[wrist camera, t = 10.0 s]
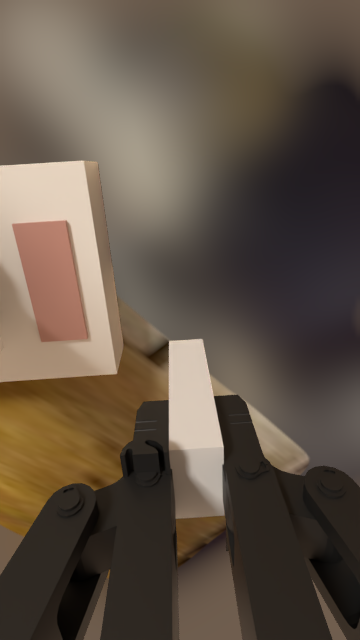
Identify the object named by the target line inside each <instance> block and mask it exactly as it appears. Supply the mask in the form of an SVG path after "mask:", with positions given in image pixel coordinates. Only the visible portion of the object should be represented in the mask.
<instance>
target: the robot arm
mask: <svg viewBox="0 0 360 640" xmlns="http://www.w3.org/2000/svg"><path fill="white" fill-rule="evenodd" d="M120 459H121V465H122V471H123V477H122V478H121V479H120V480H118V481H117V482H116V483H114V484H112V485H110V486H107V487H104V488H102V489H99V490H96V491H93V489H92V488H91V487H90V486H88V485H85V484H82V483H80V484H71V485H68V486H65V487H62V488H61V489H59V490H58V491H56V492H55V493H54V494H53V495H52V496H51V497H50V499H49V500H48V501H47V502H46V504H45V506H44V507H43V509H42V510H41V512H40V513H39V515H38V517H37V518H36V520H35V521H34V523H33V525H32V526H31V528H30V529H29V531H28V532H27V534H26V536H25V537H24V539H23V540H22V542H21V544H20V545H19V547H18V548H17V550H16V551H15V553H14V555H13V556H12V558H11V560H10V561H9V563H8V564H7V566H6V567H5V569H4V570H3V572H2V574H1V575H0V640H83V639H84V636H85V633H86V631H87V628H88V625H89V623H90V620H91V617H92V615H93V612H94V609H95V606H96V604H97V601H98V599H99V596H100V593H101V590H102V588H103V585H104V582H105V580H106V577H107V574H108V571H109V570H110V576H109V583H108V590H107V597H106V604H105V611H104V618H103V624H102V631H101V638H100V640H179V613H178V612H179V611H178V570H177V569H178V567H177V534H176V519H181V518H196V517H211V516H224V511H225V517H226V551H229V555H230V562H231V568H232V574H233V580H234V587H235V594H236V601H237V606H238V614H239V619H240V626H241V633H242V639H243V640H332V637H331V634H330V631H329V628H328V626H327V623H326V620H325V617H324V614H323V611H322V608H321V605H320V603H319V599H318V597H317V594H316V591H315V588H314V585H313V582H314V583H315V585H316V587H317V588H318V590H319V592H320V594H321V595H322V597H323V599H324V601H325V602H326V604H327V606H328V608H329V609H330V611H331V613H332V614H333V616H334V618H335V620H336V621H337V623H338V625H339V627H340V628H341V630H342V632H343V633H344V635H345V637H346V639H347V640H360V487H359V486H358V485H357V484H356V483H355V482H354V481H353V479H351V478H350V477H349V476H348V475H347V474H345V473H344V472H342V471H340V470H338V469H336V468H333V467H327V466H319V467H314V468H312V469H310V470H309V471H308V472H307V473H306V475H305V476H300V475H295V474H290V473H287V472H283V471H281V470H279V469H277V468H275V467H274V466H272V465H271V464H270V462H269V461H268V460H267V459H266V458H265V457H264V455H263V453H262V450H261V447H260V444H259V441H258V438H257V435H256V432H255V429H254V426H253V423H252V420H251V417H250V415H249V411H248V408H247V405H246V402H245V401H243V400H242V399H241V398H240V397H239V396H238V395H226V396H214V395H213V390H212V385H211V380H210V375H209V370H208V366H207V360H206V355H205V351H204V345H203V340H202V339H196V340H179V341H169V400H164V401H149V402H143V404H142V405H141V406H140V408H139V409H138V411H137V416H136V423H135V432H134V438H133V441H131V442H129V443H128V444H127V445H126V446H125V447H124V448H123V450H122V452H121V454H120ZM311 578H312V579H311ZM312 580H313V582H312Z"/></svg>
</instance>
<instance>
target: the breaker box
mask: <svg viewBox="0 0 360 640" xmlns="http://www.w3.org/2000/svg"><path fill="white" fill-rule="evenodd" d="M123 347H124V344H123V337H122V330H121V323H120V316H119V309H118V302H117V295H116V288H115V281H114V274H113V267H112V260H111V253H110V246H109V238H108V231H107V224H106V217H105V210H104V203H103V196H102V189H101V182H100V174H99V167H98V162H93V161H71V162H54V163H39V164H22V165H6V166H0V382H8V381H23V380H37V379H52V378H66V377H81V376H95V375H110V374H117V372H118V368H119V363H120V359H121V355H122V351H123Z"/></svg>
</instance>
